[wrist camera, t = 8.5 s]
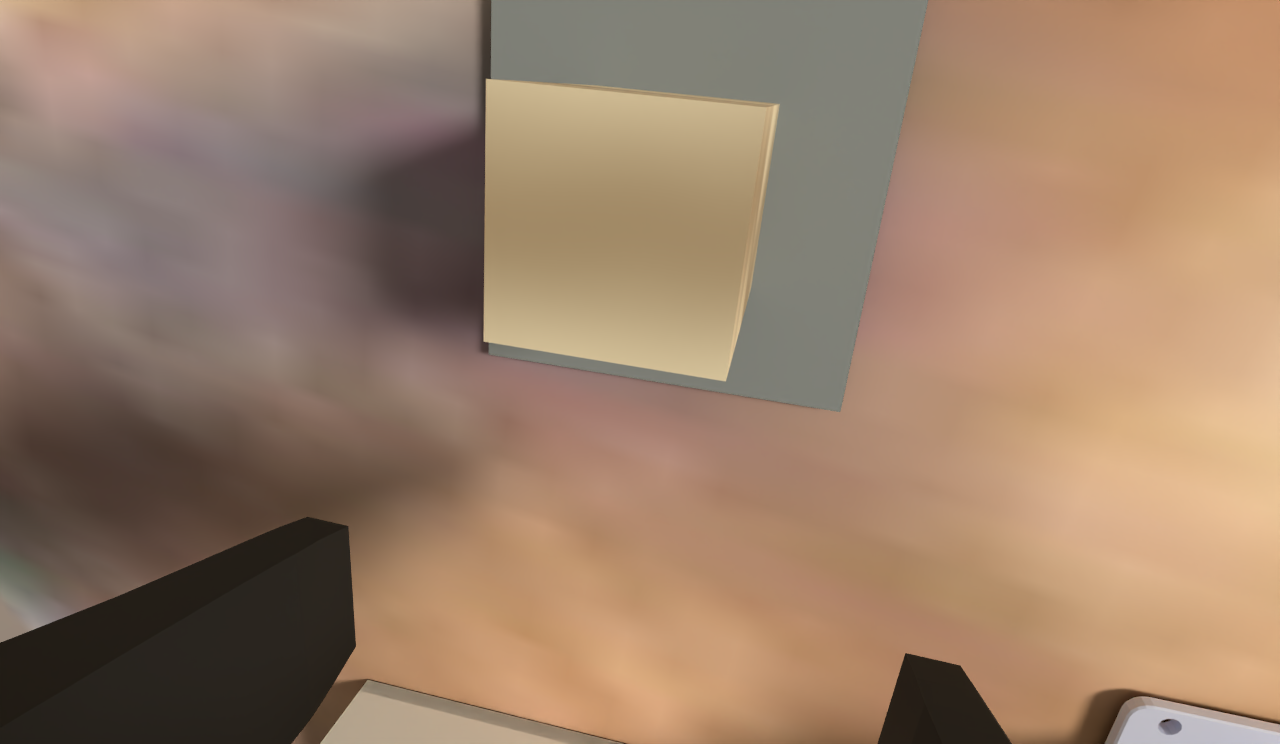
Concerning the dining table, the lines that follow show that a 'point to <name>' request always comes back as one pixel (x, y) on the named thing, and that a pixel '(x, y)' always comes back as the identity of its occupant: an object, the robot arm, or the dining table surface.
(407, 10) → the dining table surface
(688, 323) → the birch block
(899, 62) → the rubber mat
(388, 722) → the parts bin
